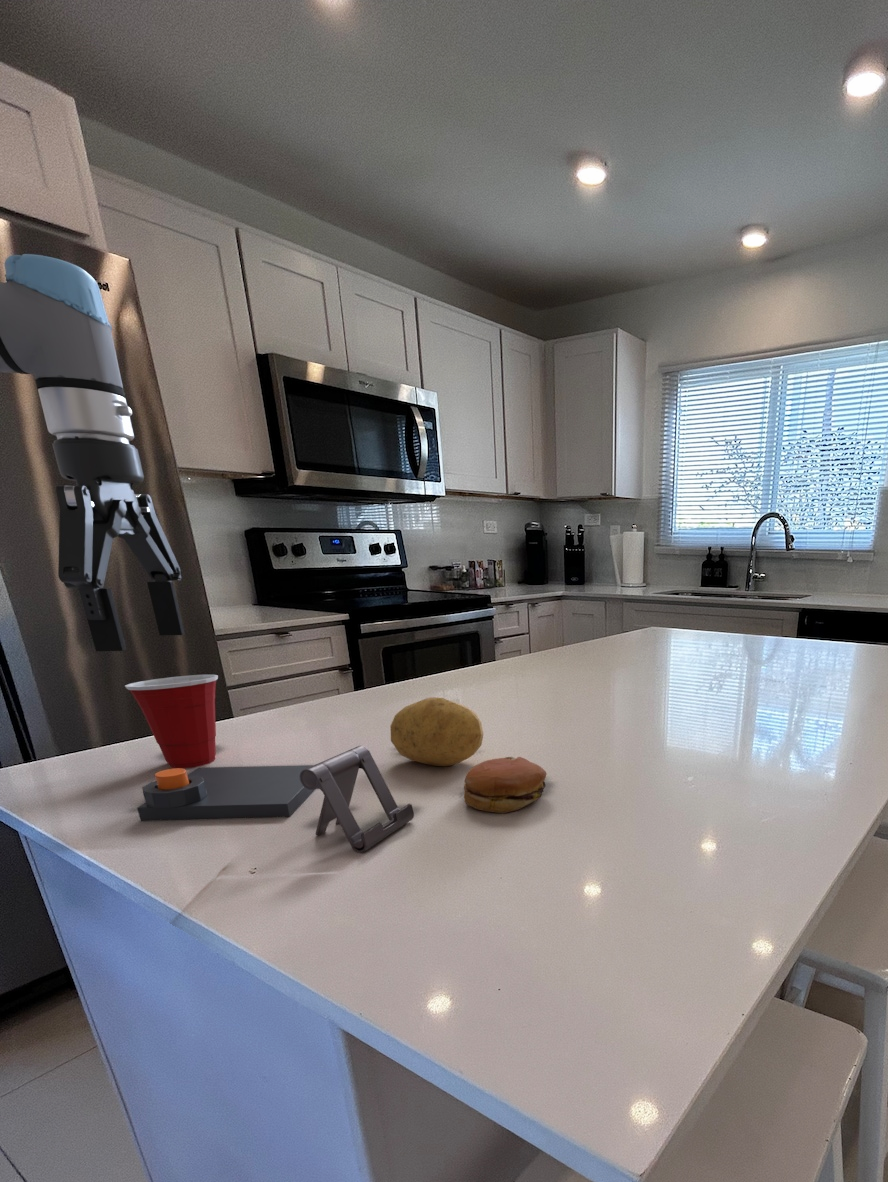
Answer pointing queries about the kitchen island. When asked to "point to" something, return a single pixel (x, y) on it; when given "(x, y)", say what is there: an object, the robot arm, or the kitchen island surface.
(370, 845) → the tablet stand
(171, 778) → the button
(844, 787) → the kitchen island surface
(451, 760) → the potato
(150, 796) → the scale
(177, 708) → the plastic cup
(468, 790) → the burger
